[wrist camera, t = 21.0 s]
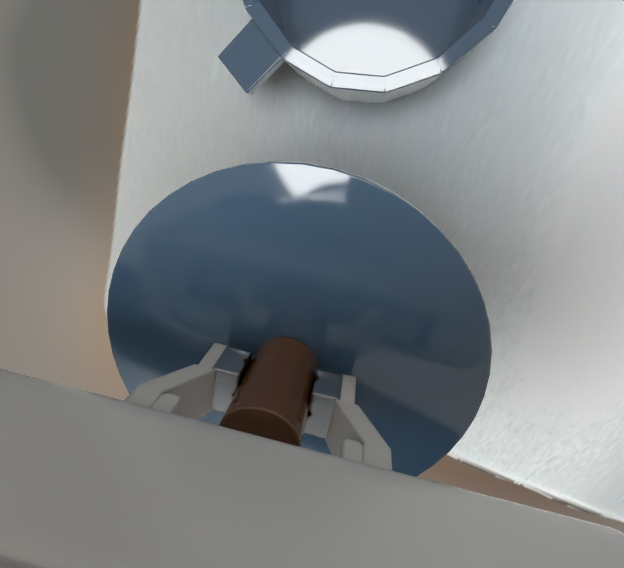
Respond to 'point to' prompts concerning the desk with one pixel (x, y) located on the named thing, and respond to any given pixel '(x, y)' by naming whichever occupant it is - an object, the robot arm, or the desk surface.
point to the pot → (359, 43)
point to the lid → (307, 304)
